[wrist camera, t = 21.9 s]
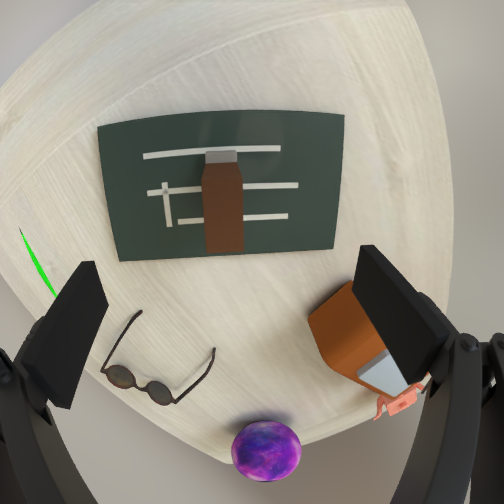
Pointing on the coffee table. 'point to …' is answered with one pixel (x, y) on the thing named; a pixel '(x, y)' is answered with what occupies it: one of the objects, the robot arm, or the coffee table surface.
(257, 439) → the decorative orb
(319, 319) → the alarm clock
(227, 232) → the eraser
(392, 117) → the coffee table surface
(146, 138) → the chalkboard
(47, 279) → the leaf
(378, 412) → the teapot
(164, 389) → the eyeglasses
